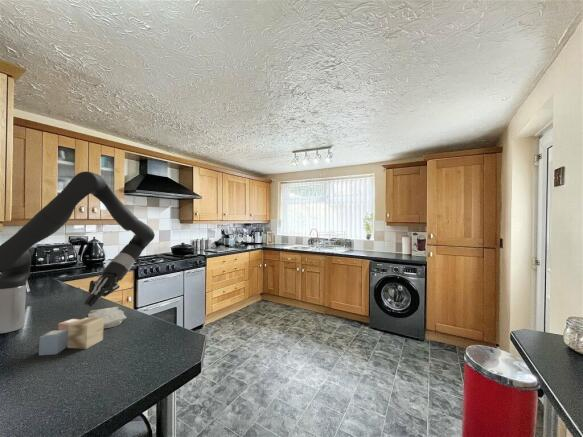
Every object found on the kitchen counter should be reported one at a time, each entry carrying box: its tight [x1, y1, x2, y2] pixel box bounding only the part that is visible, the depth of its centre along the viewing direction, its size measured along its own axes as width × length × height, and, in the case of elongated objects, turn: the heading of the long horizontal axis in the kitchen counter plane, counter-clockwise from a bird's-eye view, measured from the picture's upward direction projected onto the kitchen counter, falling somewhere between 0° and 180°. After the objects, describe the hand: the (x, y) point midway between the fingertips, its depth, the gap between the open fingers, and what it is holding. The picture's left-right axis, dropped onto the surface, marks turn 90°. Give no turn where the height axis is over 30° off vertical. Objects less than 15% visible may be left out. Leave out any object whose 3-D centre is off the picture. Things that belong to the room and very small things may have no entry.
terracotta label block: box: [57, 318, 81, 342], centre depth 95 cm, size 5×5×6 cm
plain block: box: [66, 316, 104, 350], centre depth 90 cm, size 7×7×8 cm
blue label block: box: [38, 329, 68, 356], centre depth 85 cm, size 5×5×6 cm
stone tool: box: [87, 306, 127, 330], centre depth 113 cm, size 13×4×25 cm
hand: (87, 305), depth 91 cm, fingers closed
